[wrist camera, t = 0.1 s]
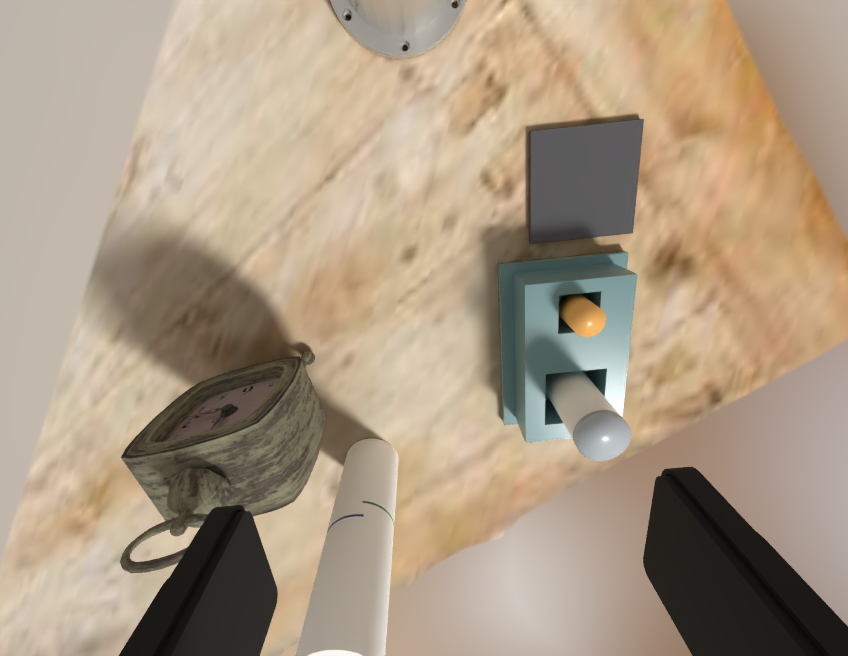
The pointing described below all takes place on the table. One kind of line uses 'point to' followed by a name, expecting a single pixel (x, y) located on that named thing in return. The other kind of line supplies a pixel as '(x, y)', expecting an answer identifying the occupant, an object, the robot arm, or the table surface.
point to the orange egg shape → (582, 315)
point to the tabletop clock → (228, 448)
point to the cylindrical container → (355, 559)
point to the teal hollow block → (561, 335)
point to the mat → (583, 180)
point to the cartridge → (587, 415)
